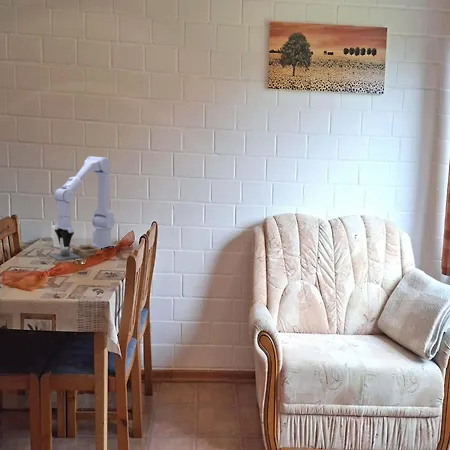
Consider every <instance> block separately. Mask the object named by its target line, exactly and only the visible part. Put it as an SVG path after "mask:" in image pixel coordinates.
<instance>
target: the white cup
mask: <svg viewBox="0 0 450 450" xmlns="http://www.w3.org/2000/svg"><path fill="white" fill-rule="evenodd" d="M56 229H58V228H55V224H54V225H51V235H52V243H53V244H52V245H53V247H54V248H58V249H60V244H59V240H58V236H57V234H56V232H55V230H56Z"/></svg>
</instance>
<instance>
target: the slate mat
mask: <svg viewBox="0 0 450 450" xmlns="http://www.w3.org/2000/svg"><path fill="white" fill-rule="evenodd" d="M49 256H50V257H51V258H53V259H55V260H57V261H64V260H71V259H78V258H81V256H79V255H76V254H74V253H72V251H70V255H68V256H61V252H60V253H54V254H49Z"/></svg>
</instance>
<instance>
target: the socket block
mask: <svg viewBox="0 0 450 450" xmlns="http://www.w3.org/2000/svg"><path fill="white" fill-rule="evenodd" d="M71 248H72V251H71V253H73V254H76V255H78V256H80V258H86V257H91V256H90V255H92V254H94V253H95V252H97V251H99V250H101V248H98V247H96V246H94V245H91V244H90V245H83V246H82V245H81V246H72V247H71Z"/></svg>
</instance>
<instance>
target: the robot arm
mask: <svg viewBox="0 0 450 450" xmlns="http://www.w3.org/2000/svg"><path fill="white" fill-rule="evenodd" d="M110 166H111V161H110V160H109V159H108V158H107V157H106V156H103V157H102V156H92V155H89V156H88V157H86V159H85V160H84V163H83V165H82V166H81V168H80V170H79V171H78V172H77V173H76V174H75V176H70V177H68V180H67V181H66V182H65V183H64V184H63V185H62V186H61V187H60V188H58V189H56V190H55V192H54V194H53V198H54V201H55V204H56V210H57V211H56V214H57V215H56V217H57V222H55V223H54V225H55V228H58V229H56V230H55V232H56V234H57V236H58V240H59V244H60V237H62V238H63V244H64V247H69V245H70V246H71V241H72V238H73V235H74V234H75V232H74V227H73V226H72V219H71V217H72V215H71V214H72V212H71V209H72V208H71V204H72V201H74V197H75V194H76V192H77V191H78V190H79V189H80V188H81V186H82V181H84V180H85V178H87V177H88V176H89V175H90V173H92V172H93V173H95V174H96V176H97V177H98V178H97V181H98V182H97V186H98V187H97V209H96V210H94V211H93V216H92V219H91V223H92V225H93V227H94V229H93V231H92V243H91V244H90V245H94V246H96V247H98V248H102V249H105V248H104V247H107V246H114V245H113V244H112V229H113V227H114V225H115V223H116V222H115V217H114V214H115V213H114V212H113V211H112V210H111V209H110V189H111V184H110V182H111V167H110Z"/></svg>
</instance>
